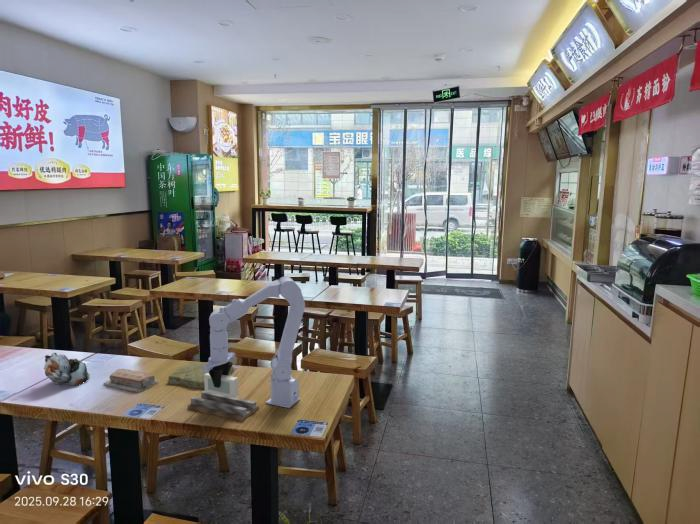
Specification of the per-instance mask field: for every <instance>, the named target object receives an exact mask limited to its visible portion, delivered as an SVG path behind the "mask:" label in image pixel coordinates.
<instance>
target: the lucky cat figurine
mask: <svg viewBox="0 0 700 524" xmlns="http://www.w3.org/2000/svg"><path fill="white" fill-rule="evenodd" d="M44 358H45V359H44V361H45V364H44V366H43V369H44V375H45V376H46V377H47V378H48V379H49V380H51V381H52V383H53V385H58V384H59V385H70V386H71V385H72V386H80V385H82V383H83V382H85V383H86V382H87V381H89V380H90V375H91V374H90V373H89V372H88V369H87V364H86V363H85V362H82V361H80V359H77V358H68V356H66V354H58V353H57V352H52V353H51V355H45V356H44ZM79 384H80V385H79ZM83 384H84V383H83Z"/></svg>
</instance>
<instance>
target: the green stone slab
mask: <svg viewBox="0 0 700 524" xmlns="http://www.w3.org/2000/svg"><path fill="white" fill-rule="evenodd" d="M206 363H207V362H206ZM206 363H205V362H204V363H203V362H196V361H195V362H194V361H191V362H188V363H187V364H184V365H182V366H181V367H180V368H178V369H176V370H175V371H174V372H171V374H170V375H168V380H167V383H168V385H169V384H170V385H180V386H181V385H182V386H187V387H189V388H196V389H197V388H199V389H205V386H204V374H206V373H208V372H203V365H205V364H206ZM234 372H235V369H234V366H233V365H232V367H231V369H230V371H229V374H228V376H232V374H234Z"/></svg>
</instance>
